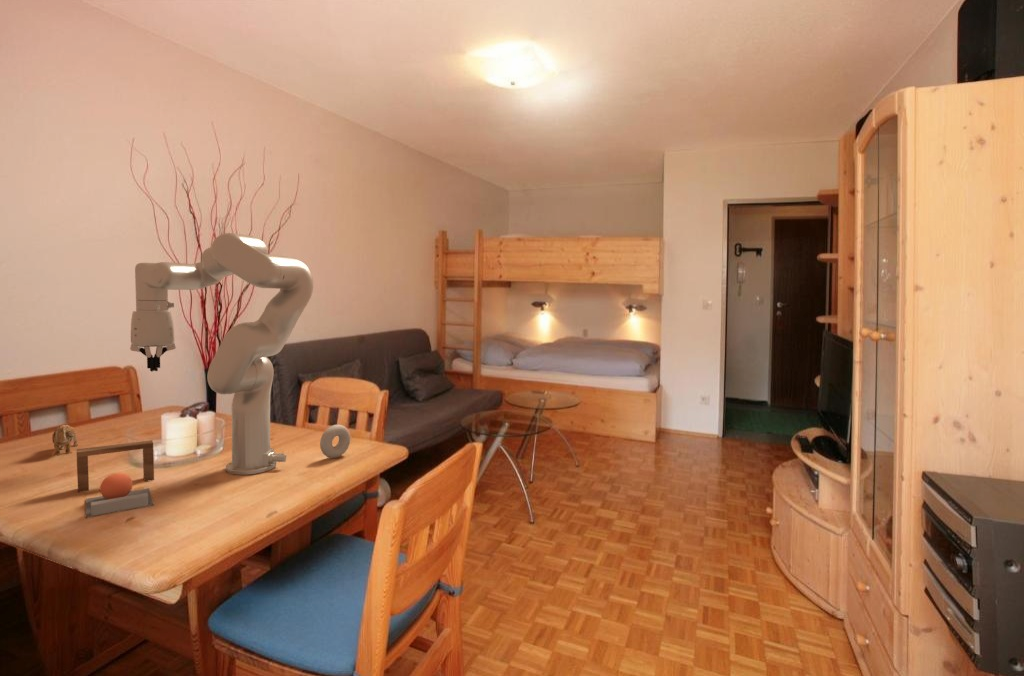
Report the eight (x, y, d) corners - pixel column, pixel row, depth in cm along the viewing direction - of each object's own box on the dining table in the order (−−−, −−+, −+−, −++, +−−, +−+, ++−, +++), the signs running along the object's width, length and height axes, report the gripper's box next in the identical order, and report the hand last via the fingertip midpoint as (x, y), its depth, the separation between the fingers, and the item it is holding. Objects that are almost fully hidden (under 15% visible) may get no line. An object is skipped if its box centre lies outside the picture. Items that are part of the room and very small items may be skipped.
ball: (138, 470, 124) (137, 495, 122) (124, 479, 126) (123, 503, 124) (109, 468, 119) (108, 494, 117) (95, 478, 122) (93, 503, 119)
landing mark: (85, 499, 121) (85, 498, 121) (149, 489, 129) (149, 488, 128) (85, 517, 112) (85, 517, 112) (153, 505, 119) (153, 504, 119)
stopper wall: (91, 513, 114) (91, 502, 114) (147, 503, 120) (147, 492, 120) (91, 516, 112) (91, 505, 112) (148, 506, 119) (148, 495, 118)
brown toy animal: (76, 456, 151) (75, 425, 150) (52, 459, 148) (50, 427, 147) (78, 443, 163) (77, 415, 162) (55, 446, 159) (54, 417, 159)
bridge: (78, 488, 127) (76, 449, 127) (152, 476, 137) (152, 440, 136) (78, 492, 125) (76, 452, 124) (154, 479, 134) (153, 442, 134)
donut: (324, 462, 152) (324, 428, 151) (317, 460, 154) (317, 426, 153) (352, 454, 160) (353, 422, 159) (345, 452, 162) (345, 420, 161)
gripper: (181, 306, 157) (182, 367, 159) (118, 306, 148) (120, 370, 149) (184, 307, 151) (186, 370, 153) (120, 307, 142) (122, 374, 144)
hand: (153, 370), depth 151 cm, fingers closed
